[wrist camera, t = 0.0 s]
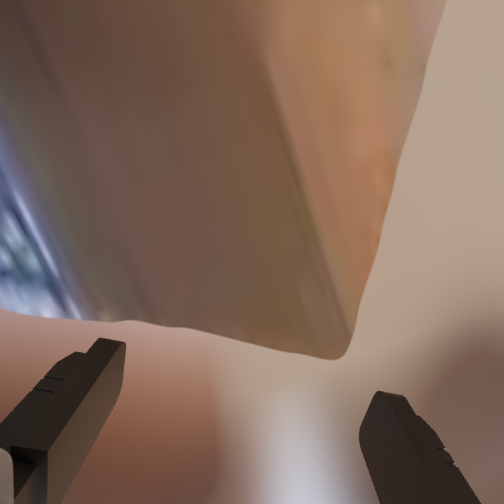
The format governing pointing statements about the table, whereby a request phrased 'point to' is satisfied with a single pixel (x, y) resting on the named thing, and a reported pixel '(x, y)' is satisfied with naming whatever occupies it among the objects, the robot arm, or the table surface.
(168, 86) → the table surface
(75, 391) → the robot arm
